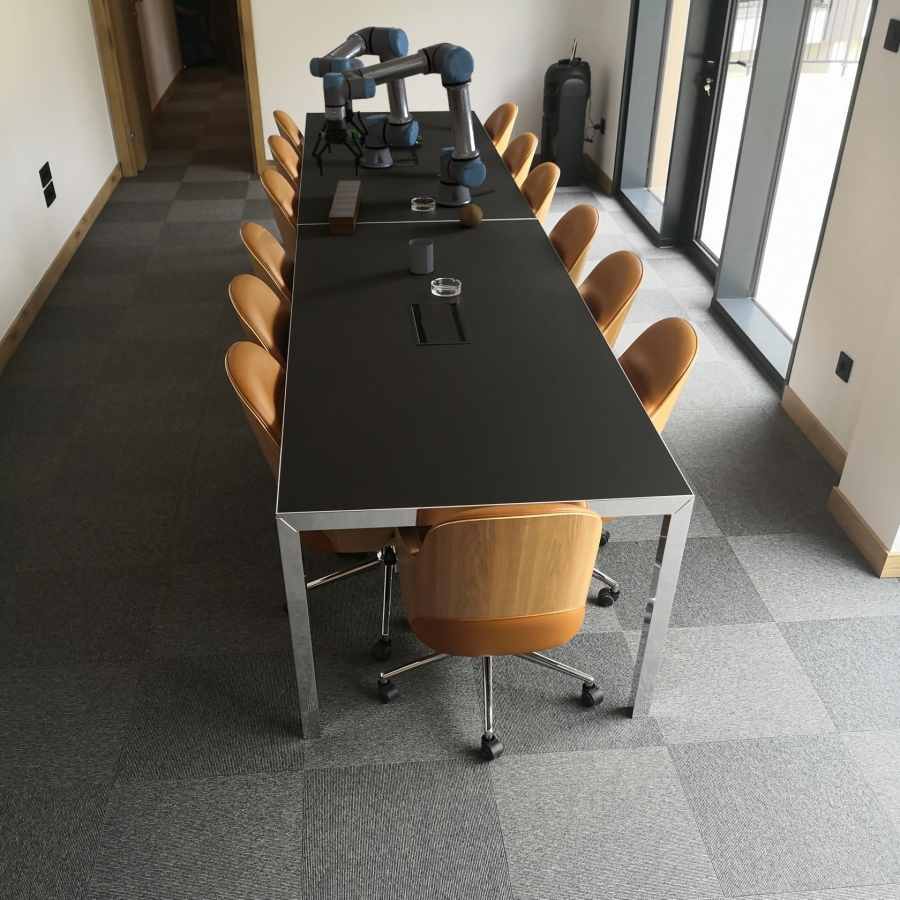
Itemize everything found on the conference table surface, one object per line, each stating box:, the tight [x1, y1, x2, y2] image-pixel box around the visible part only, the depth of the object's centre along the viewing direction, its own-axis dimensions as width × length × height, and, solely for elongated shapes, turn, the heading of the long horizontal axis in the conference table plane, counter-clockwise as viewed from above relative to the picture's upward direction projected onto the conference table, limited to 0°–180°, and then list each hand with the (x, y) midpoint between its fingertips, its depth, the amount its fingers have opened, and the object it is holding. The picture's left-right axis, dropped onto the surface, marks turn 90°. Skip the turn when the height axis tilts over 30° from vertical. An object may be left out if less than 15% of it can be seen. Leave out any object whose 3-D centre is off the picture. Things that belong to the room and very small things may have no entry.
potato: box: [458, 203, 484, 228], centre depth 347 cm, size 10×14×8 cm
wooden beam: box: [328, 180, 362, 235], centre depth 360 cm, size 51×10×7 cm, turn 2°
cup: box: [408, 237, 434, 275], centre depth 305 cm, size 8×8×10 cm
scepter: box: [346, 128, 362, 146], centre depth 466 cm, size 6×13×30 cm
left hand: (346, 152), depth 366 cm, fingers open, 13 cm apart
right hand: (339, 175), depth 336 cm, fingers open, 13 cm apart
